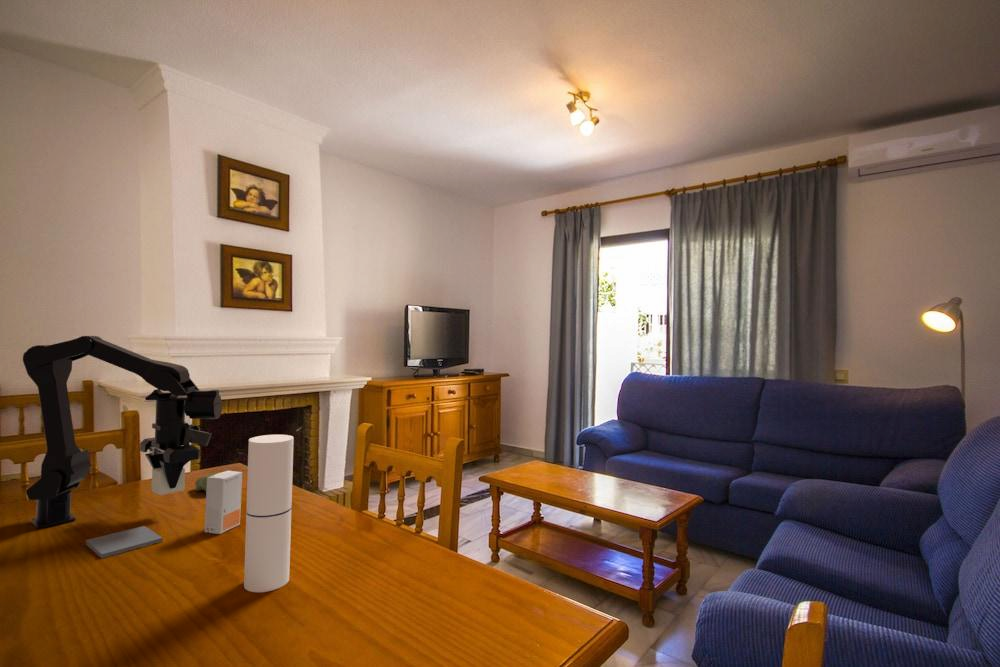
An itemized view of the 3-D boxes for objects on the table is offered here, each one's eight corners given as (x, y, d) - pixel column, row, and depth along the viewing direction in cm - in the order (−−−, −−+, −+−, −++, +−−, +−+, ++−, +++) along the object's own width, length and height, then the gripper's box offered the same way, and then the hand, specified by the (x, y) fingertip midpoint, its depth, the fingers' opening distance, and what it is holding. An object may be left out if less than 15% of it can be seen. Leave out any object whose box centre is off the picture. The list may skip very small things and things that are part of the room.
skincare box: (220, 534, 105) (222, 478, 105) (203, 532, 106) (205, 477, 106) (241, 524, 111) (243, 471, 111) (224, 522, 112) (226, 470, 112)
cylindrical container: (244, 596, 81) (248, 444, 81) (244, 576, 87) (248, 436, 88) (290, 586, 84) (295, 441, 85) (287, 569, 91) (291, 433, 91)
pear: (210, 475, 129) (188, 476, 134) (212, 496, 129) (189, 496, 133) (230, 470, 134) (208, 471, 139) (232, 490, 134) (210, 490, 138)
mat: (85, 544, 99) (86, 540, 99) (144, 529, 107) (144, 525, 107) (101, 558, 93) (101, 554, 93) (162, 541, 101) (162, 537, 101)
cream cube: (151, 490, 114) (152, 469, 114) (175, 485, 118) (176, 465, 118) (159, 495, 111) (160, 473, 111) (184, 490, 115) (185, 468, 115)
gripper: (224, 419, 116) (222, 486, 116) (191, 411, 127) (189, 471, 127) (171, 425, 107) (169, 497, 107) (140, 415, 118) (137, 481, 118)
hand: (168, 485), depth 115 cm, fingers closed on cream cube, 5 cm apart
